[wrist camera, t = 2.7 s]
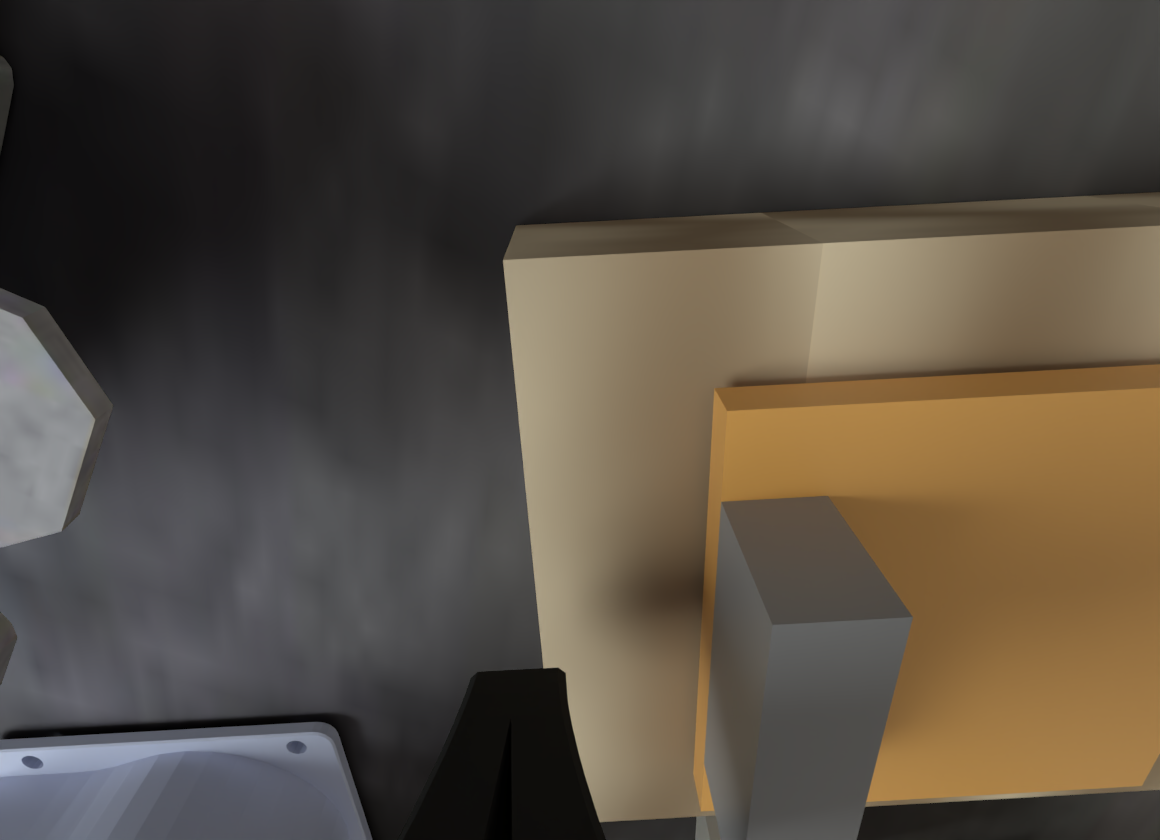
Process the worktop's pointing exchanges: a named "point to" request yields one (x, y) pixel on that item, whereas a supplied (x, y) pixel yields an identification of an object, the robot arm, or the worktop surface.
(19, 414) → the electrical outlet
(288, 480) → the worktop surface
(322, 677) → the worktop surface
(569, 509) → the socket block
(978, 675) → the shutter
